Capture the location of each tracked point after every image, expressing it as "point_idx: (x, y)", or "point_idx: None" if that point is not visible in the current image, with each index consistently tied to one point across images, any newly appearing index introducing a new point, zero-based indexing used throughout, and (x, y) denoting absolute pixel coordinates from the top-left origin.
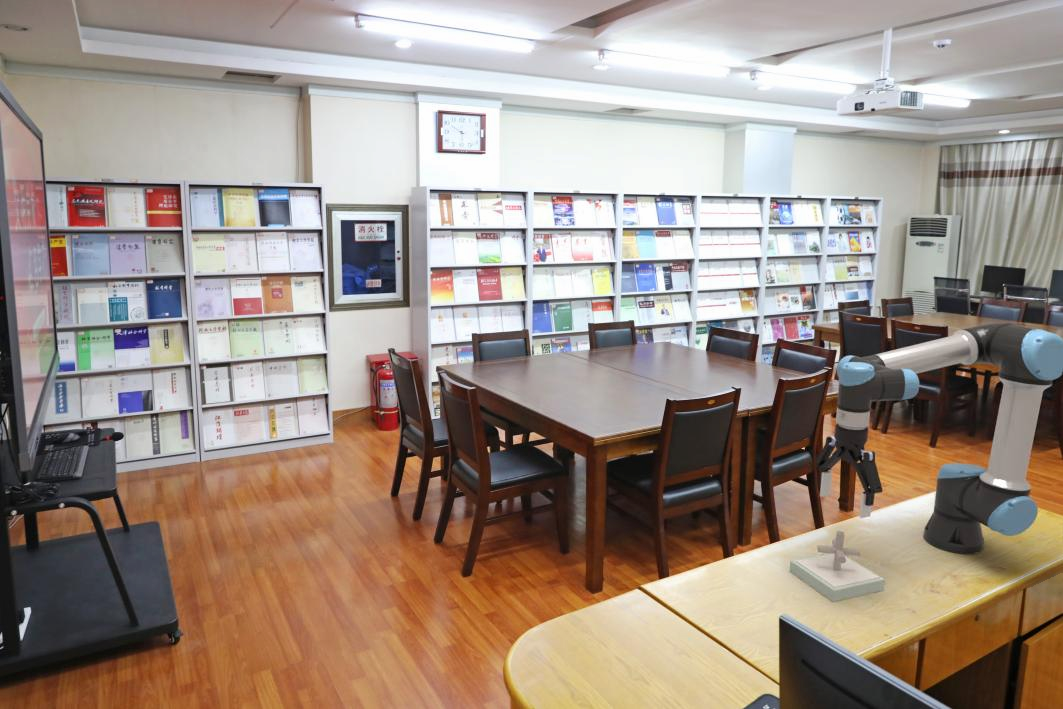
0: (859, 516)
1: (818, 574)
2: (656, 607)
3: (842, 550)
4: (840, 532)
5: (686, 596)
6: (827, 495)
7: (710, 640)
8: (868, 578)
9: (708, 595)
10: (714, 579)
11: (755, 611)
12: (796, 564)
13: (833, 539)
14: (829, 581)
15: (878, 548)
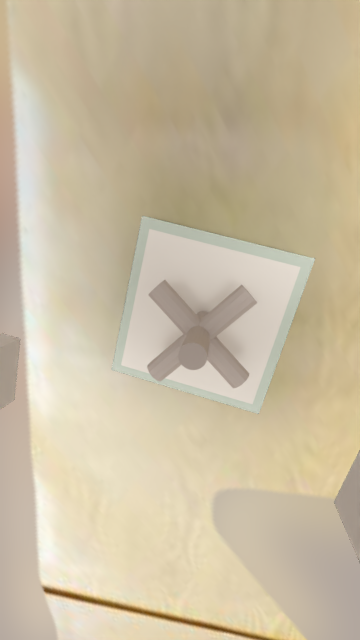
0: (336, 505)
1: (194, 382)
2: (92, 612)
3: (212, 338)
4: (190, 354)
5: (91, 564)
6: (15, 361)
7: (200, 630)
8: (285, 298)
9: (106, 539)
10: (71, 492)
11: (186, 528)
12: (131, 374)
13: (149, 293)
14: (230, 392)
15: (166, 21)
